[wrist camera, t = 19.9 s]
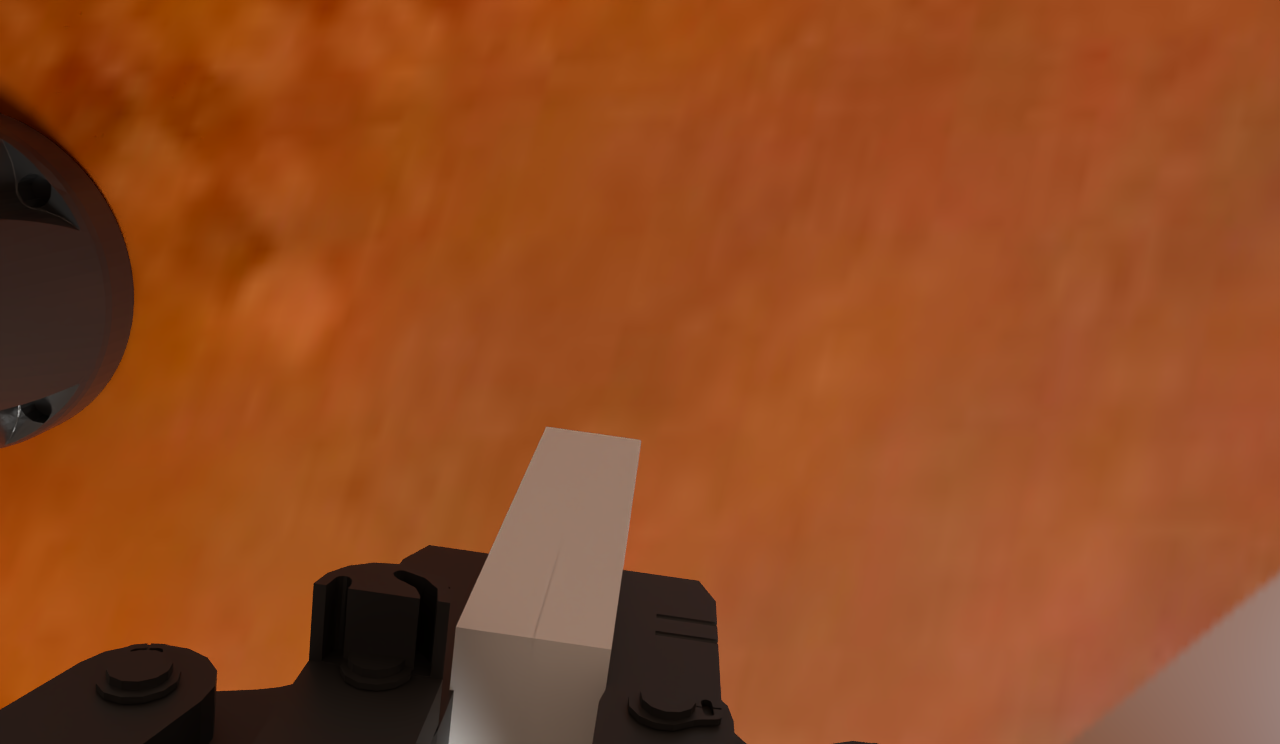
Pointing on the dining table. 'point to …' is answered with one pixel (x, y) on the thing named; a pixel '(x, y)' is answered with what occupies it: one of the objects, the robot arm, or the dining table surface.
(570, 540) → the robot arm
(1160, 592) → the dining table surface
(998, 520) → the dining table surface
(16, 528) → the dining table surface
